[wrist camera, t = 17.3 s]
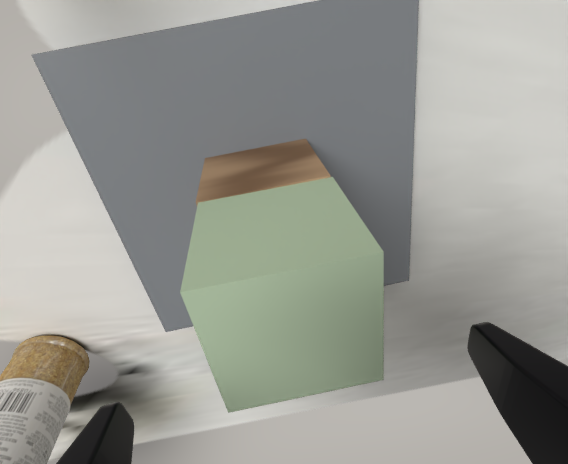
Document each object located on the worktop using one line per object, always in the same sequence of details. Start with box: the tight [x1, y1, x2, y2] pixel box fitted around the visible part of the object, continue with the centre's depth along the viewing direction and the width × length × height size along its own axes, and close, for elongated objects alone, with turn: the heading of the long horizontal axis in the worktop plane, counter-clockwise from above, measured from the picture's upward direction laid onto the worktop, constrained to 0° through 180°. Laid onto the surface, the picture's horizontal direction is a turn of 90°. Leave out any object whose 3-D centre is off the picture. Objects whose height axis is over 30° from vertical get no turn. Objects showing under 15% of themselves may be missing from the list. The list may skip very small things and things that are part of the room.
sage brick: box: [180, 177, 384, 413], centre depth 12 cm, size 5×5×5 cm
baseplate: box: [32, 0, 419, 332], centre depth 19 cm, size 16×16×1 cm
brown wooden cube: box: [196, 139, 330, 205], centre depth 16 cm, size 5×5×5 cm
